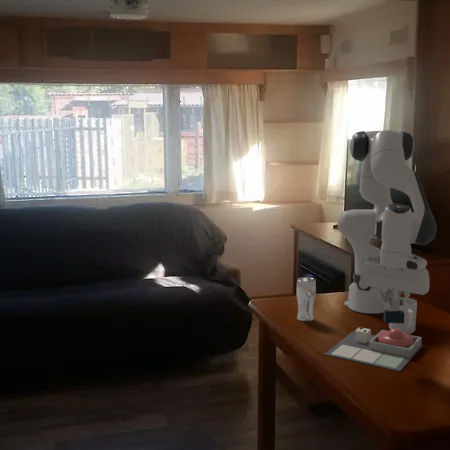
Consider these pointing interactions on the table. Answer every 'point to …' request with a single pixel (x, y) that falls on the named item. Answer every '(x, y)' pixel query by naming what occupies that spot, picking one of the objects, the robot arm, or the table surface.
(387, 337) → the dome
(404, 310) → the mug
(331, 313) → the table surface
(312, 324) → the table surface
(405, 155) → the robot arm
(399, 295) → the watch
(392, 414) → the table surface
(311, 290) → the beer glass
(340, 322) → the table surface
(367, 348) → the game board
